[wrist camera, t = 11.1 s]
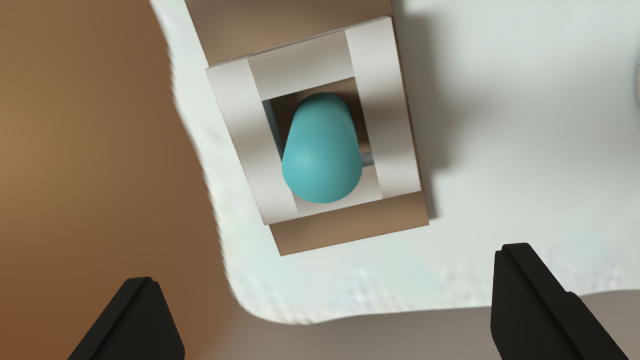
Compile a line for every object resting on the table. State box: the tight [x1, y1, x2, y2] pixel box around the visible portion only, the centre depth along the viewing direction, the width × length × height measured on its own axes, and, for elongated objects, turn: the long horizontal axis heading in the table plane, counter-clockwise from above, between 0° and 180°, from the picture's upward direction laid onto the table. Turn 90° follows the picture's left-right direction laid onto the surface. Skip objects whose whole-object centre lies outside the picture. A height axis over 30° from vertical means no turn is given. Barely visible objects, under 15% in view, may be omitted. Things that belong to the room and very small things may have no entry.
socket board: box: [184, 0, 429, 256], centre depth 26 cm, size 20×12×4 cm, turn 15°
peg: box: [282, 92, 362, 204], centre depth 23 cm, size 4×4×8 cm
